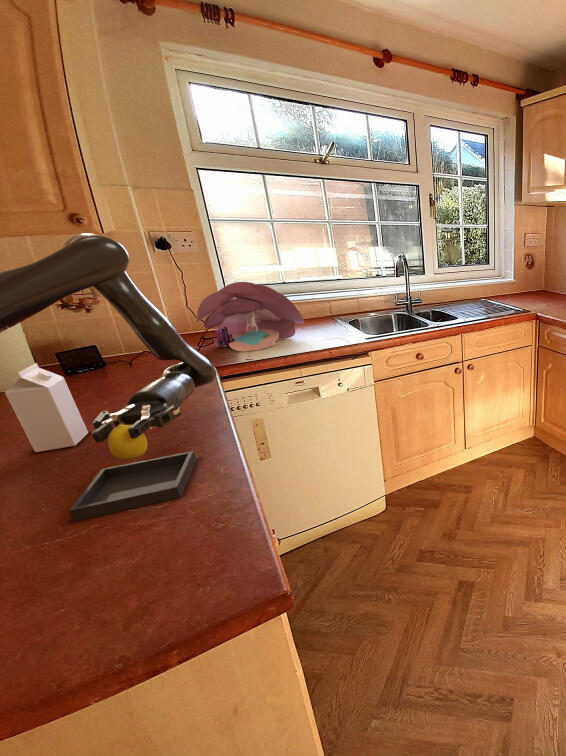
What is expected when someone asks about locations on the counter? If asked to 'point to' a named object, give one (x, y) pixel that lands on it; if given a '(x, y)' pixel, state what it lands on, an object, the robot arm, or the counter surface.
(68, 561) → the counter surface
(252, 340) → the purple shell playset
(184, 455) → the dark grey tray
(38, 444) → the milk carton
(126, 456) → the lemon
